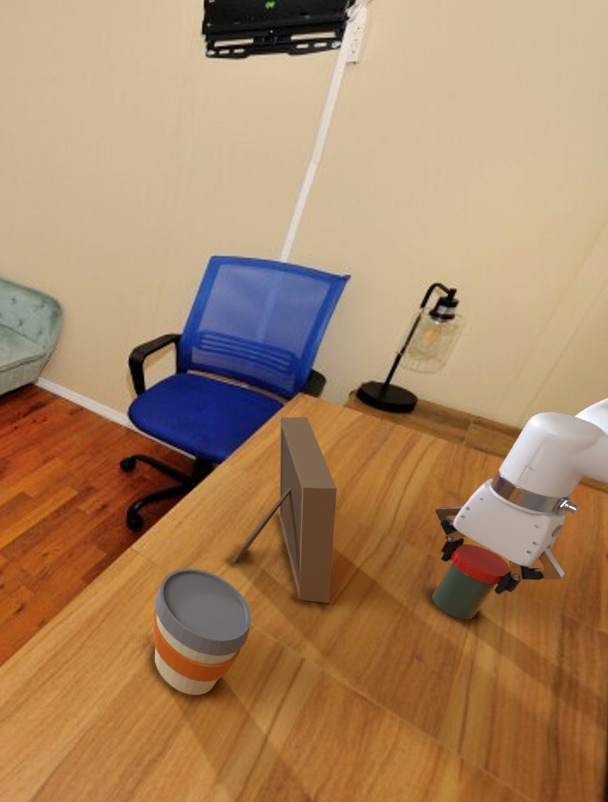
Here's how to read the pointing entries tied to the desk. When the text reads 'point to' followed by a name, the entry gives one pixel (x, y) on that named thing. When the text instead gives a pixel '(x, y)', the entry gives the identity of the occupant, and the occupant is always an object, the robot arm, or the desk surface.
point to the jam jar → (461, 593)
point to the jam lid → (479, 563)
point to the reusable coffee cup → (198, 629)
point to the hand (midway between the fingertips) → (473, 572)
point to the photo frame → (304, 510)
